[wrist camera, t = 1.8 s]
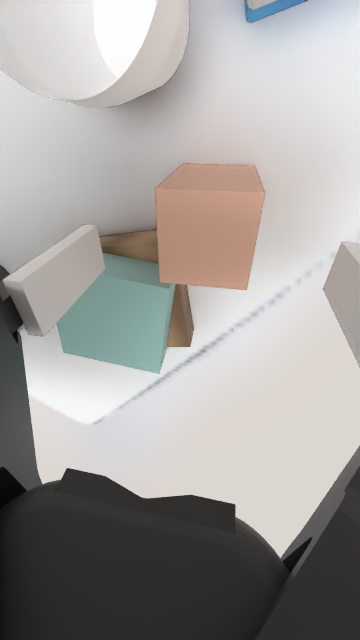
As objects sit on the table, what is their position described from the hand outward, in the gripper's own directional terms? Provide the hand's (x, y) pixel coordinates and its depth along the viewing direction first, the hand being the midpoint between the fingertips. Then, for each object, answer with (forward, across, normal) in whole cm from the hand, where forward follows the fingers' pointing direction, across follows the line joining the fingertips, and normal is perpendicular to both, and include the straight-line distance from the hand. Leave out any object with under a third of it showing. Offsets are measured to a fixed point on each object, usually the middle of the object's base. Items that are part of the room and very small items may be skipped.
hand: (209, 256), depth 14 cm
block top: (+8, -10, -10) cm, 16 cm away
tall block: (+12, -1, 0) cm, 12 cm away
